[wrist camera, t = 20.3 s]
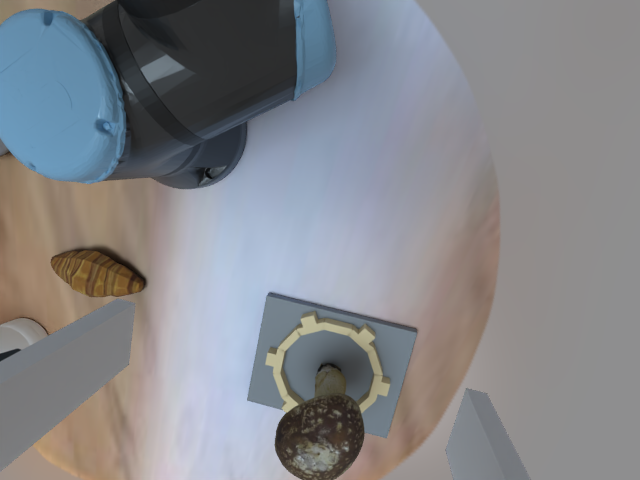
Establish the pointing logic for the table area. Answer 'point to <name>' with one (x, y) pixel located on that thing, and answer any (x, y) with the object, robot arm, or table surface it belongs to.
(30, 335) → the bottle
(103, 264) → the croissant
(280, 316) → the gear board
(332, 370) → the mushroom
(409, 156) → the table surface
